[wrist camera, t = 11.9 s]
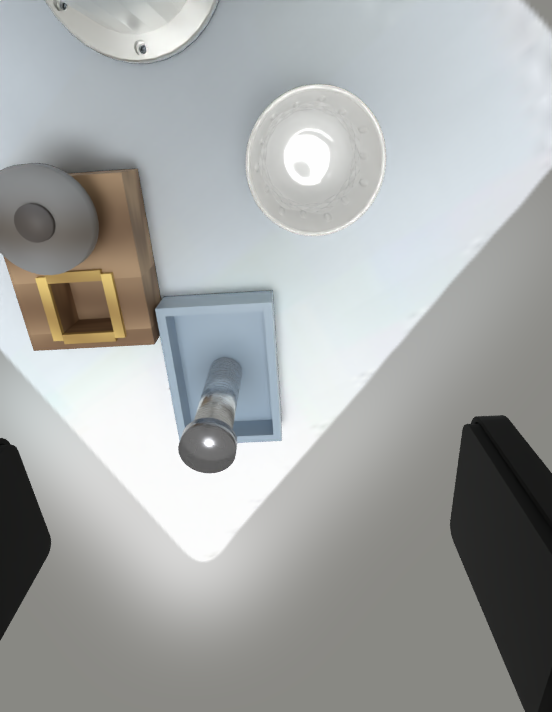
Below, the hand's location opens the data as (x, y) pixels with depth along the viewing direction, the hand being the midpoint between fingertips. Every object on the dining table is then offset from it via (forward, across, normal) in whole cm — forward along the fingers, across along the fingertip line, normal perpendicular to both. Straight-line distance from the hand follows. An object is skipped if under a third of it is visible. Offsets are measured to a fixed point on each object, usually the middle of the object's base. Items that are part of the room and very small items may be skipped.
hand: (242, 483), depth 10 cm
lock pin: (+30, +5, +13) cm, 33 cm away
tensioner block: (+30, +15, +1) cm, 34 cm away
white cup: (+31, -3, -5) cm, 31 cm away
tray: (+30, +5, +12) cm, 33 cm away
